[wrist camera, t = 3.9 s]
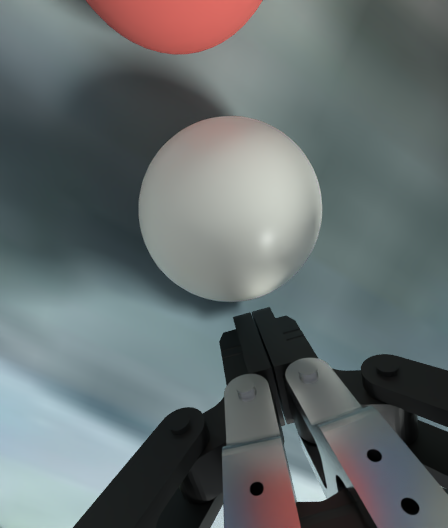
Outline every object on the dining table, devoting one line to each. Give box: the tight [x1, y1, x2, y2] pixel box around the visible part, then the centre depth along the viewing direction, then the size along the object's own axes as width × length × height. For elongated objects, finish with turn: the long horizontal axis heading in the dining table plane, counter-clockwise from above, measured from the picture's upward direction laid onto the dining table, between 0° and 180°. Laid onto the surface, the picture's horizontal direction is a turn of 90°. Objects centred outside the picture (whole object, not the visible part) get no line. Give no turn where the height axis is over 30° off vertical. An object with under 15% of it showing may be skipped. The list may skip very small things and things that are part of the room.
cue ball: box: [139, 116, 322, 302], centre depth 10 cm, size 6×6×6 cm
